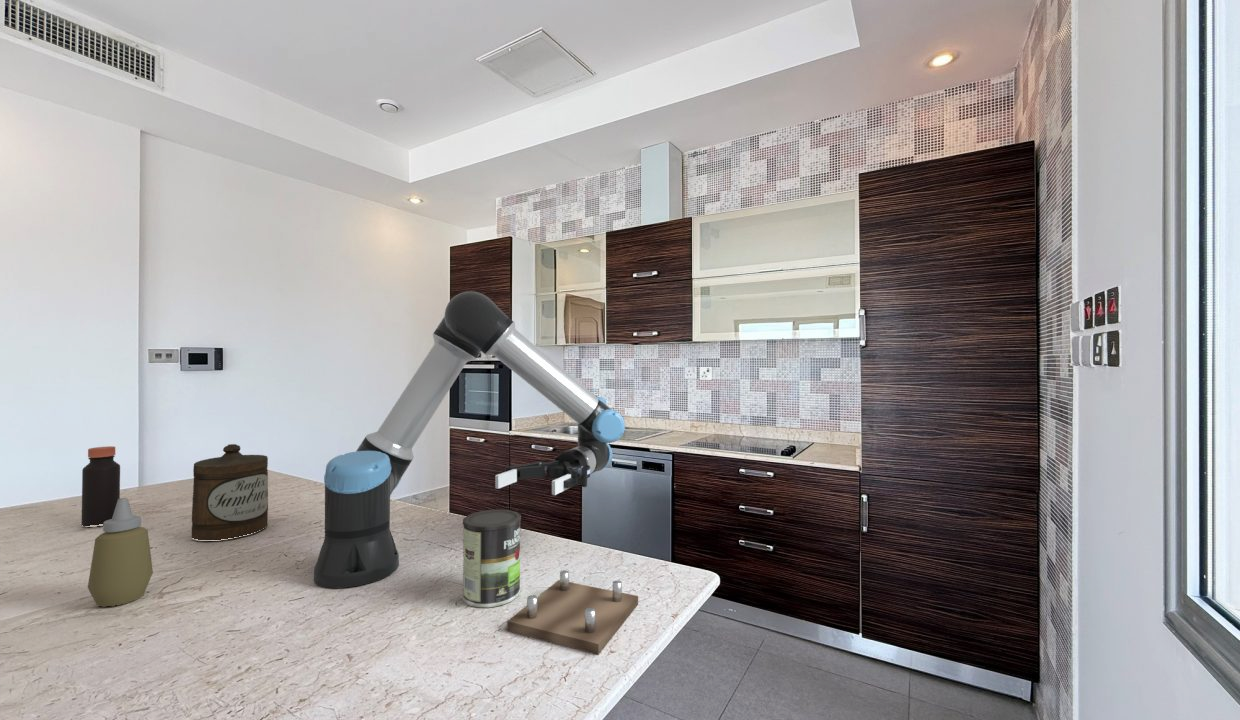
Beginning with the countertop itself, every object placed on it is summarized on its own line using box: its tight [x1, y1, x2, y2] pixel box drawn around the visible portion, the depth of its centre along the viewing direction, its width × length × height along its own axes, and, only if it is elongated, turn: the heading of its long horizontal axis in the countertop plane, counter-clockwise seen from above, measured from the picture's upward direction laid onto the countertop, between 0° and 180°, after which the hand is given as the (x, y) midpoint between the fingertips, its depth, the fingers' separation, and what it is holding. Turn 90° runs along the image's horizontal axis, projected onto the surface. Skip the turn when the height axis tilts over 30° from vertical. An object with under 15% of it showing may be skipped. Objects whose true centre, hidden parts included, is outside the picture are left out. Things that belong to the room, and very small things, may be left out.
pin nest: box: [506, 569, 639, 655], centre depth 81 cm, size 16×16×4 cm
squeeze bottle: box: [87, 497, 154, 608], centre depth 86 cm, size 8×8×18 cm
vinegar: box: [81, 446, 121, 526], centre depth 127 cm, size 7×7×20 cm
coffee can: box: [462, 509, 522, 609], centre depth 89 cm, size 10×10×14 cm
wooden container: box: [191, 443, 269, 540], centre depth 121 cm, size 15×15×22 cm
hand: (524, 485), depth 98 cm, fingers open, 13 cm apart
